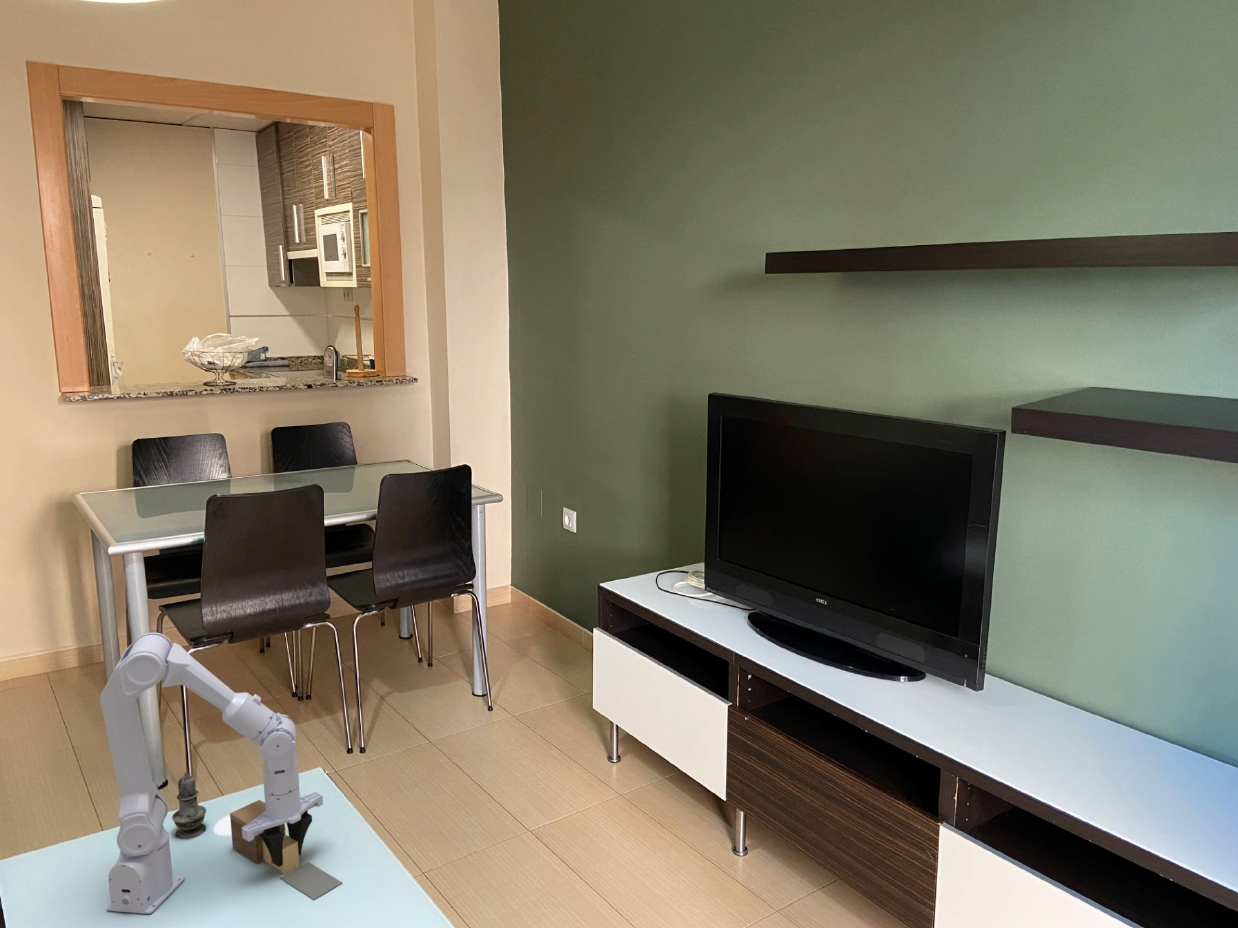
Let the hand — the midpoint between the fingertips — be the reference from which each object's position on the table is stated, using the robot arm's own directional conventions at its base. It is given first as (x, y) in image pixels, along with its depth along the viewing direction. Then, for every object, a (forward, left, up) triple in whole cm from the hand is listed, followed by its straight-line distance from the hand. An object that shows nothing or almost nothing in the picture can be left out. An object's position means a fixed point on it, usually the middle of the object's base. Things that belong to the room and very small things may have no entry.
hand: (286, 858), depth 158 cm
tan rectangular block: (+2, +4, -1) cm, 5 cm away
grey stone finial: (+8, +24, -2) cm, 25 cm away
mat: (-4, -6, -1) cm, 7 cm away
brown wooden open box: (+4, +8, -1) cm, 9 cm away
